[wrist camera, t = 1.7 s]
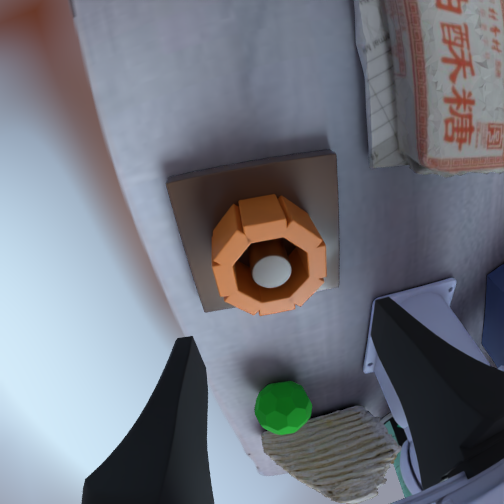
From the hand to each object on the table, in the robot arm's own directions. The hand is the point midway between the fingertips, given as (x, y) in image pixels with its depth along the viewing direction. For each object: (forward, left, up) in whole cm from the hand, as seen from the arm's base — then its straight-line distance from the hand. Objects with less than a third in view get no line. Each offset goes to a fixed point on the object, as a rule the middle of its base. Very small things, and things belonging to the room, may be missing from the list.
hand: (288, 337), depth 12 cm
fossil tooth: (-26, -4, -9) cm, 27 cm away
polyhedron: (-16, 0, -9) cm, 18 cm away
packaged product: (+12, -12, -9) cm, 19 cm away
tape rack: (0, 0, -8) cm, 8 cm away
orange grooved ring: (0, 0, -7) cm, 7 cm away
